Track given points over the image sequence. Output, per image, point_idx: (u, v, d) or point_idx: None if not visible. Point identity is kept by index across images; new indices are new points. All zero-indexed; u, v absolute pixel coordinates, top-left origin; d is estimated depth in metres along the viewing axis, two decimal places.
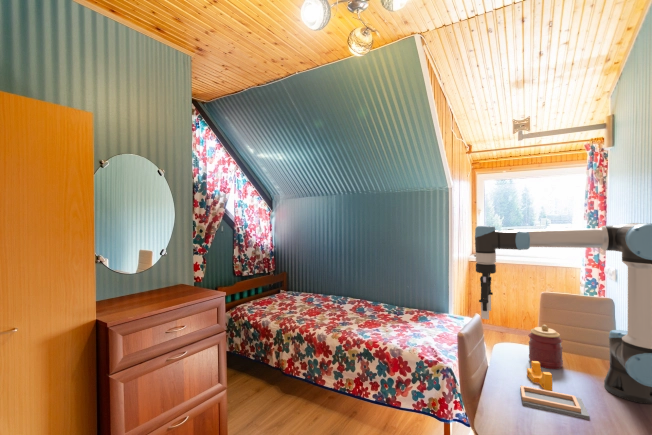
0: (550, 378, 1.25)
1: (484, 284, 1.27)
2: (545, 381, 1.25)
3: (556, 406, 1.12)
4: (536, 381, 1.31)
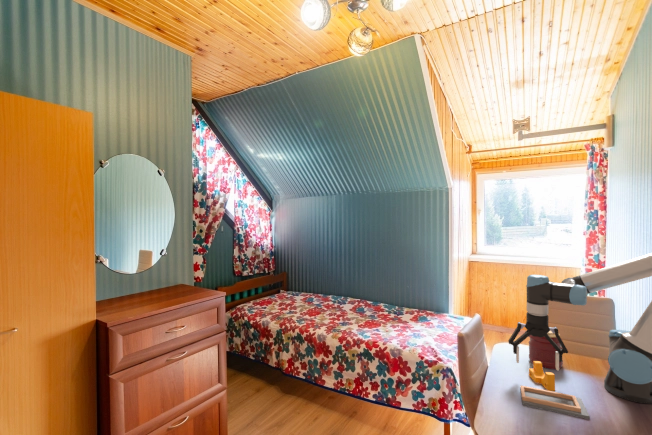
0: (553, 379, 1.25)
1: (516, 329, 1.35)
2: (548, 381, 1.25)
3: (556, 406, 1.12)
4: (538, 381, 1.31)
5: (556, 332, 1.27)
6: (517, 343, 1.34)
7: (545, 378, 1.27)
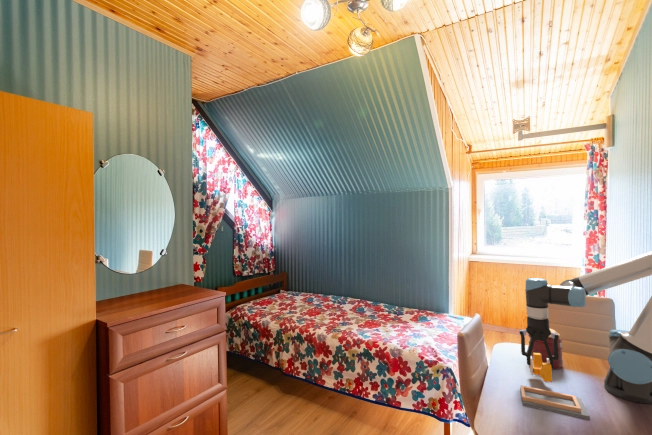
0: (550, 369, 1.25)
1: (521, 337, 1.34)
2: (544, 372, 1.25)
3: (556, 406, 1.12)
4: (537, 372, 1.31)
5: (556, 338, 1.27)
6: (529, 353, 1.32)
7: (542, 369, 1.27)
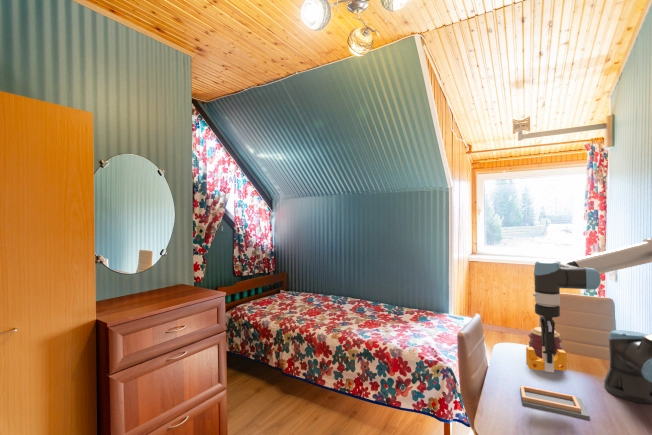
0: None
1: (550, 334, 1.12)
2: (566, 360, 1.16)
3: (556, 406, 1.12)
4: None
5: None
6: None
7: (561, 358, 1.16)
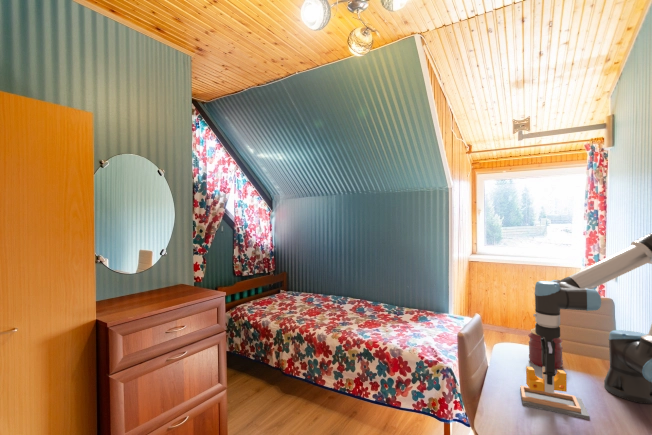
0: None
1: (550, 356, 1.12)
2: (566, 381, 1.16)
3: (556, 406, 1.12)
4: None
5: None
6: None
7: (561, 379, 1.16)
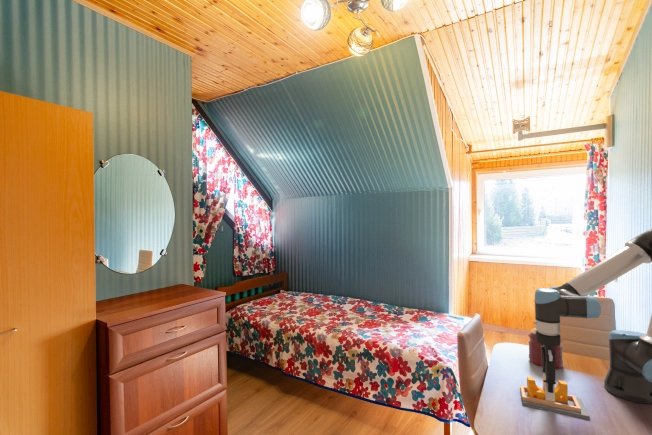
0: None
1: (550, 364, 1.12)
2: (567, 392, 1.15)
3: (556, 406, 1.12)
4: None
5: None
6: None
7: (562, 390, 1.16)
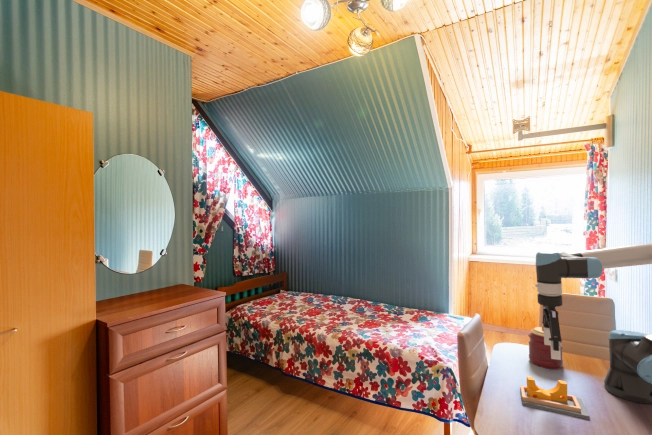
0: None
1: (554, 320, 1.12)
2: (566, 392, 1.16)
3: (556, 406, 1.12)
4: None
5: None
6: None
7: (561, 390, 1.16)
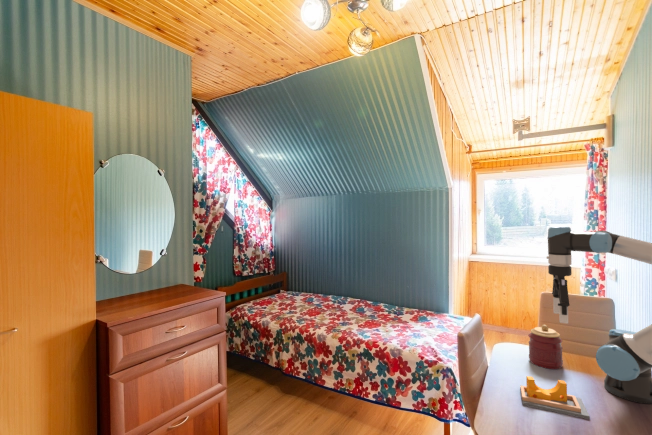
0: None
1: (563, 287, 1.23)
2: (566, 391, 1.16)
3: (556, 406, 1.12)
4: None
5: None
6: None
7: (561, 389, 1.16)
